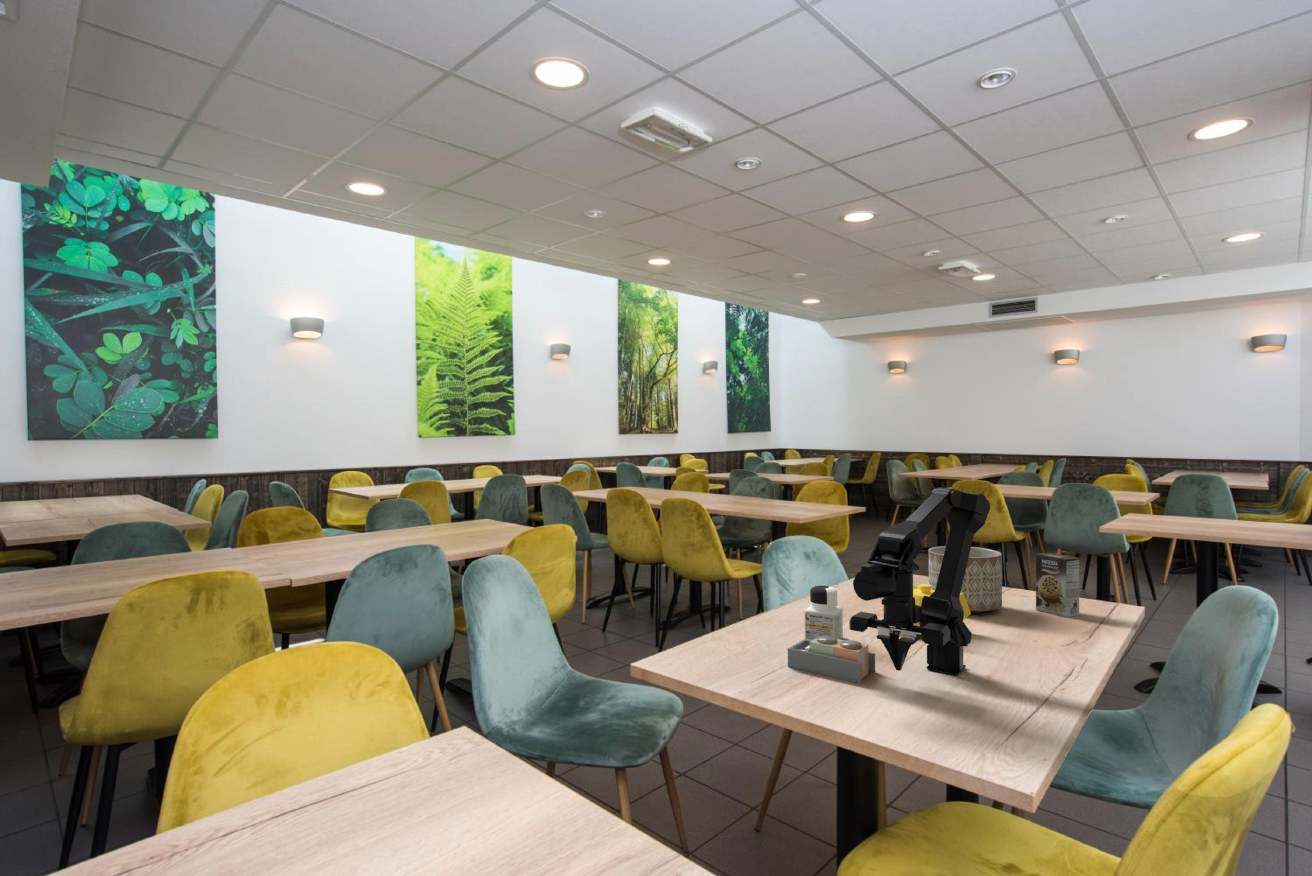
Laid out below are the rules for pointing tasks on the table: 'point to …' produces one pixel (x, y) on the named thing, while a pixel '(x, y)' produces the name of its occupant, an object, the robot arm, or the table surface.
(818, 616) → the container
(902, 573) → the robot arm
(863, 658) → the orange block with dome
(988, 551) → the planter
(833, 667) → the lane
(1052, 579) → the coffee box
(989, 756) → the table surface
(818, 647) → the sage jar
